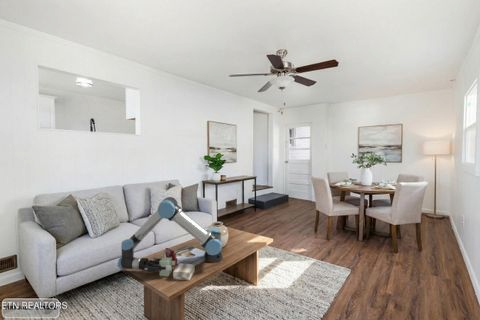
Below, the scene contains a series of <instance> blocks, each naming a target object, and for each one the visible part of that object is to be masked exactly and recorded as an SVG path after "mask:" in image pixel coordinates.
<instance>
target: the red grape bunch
mask: <svg viewBox="0 0 480 320" xmlns="http://www.w3.org/2000/svg"><path fill="white" fill-rule="evenodd" d="M164 250H165V251H164V252H165V257H168V258H172V261H175V265H176V264H177V263H178V262H177V261H179V260H178V258H177V255H176V253H175V250H173V249H171V248H168V247H166V248H165V249H164ZM176 262H177V263H176Z"/></svg>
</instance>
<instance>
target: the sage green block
mask: <svg viewBox="0 0 480 320" xmlns="http://www.w3.org/2000/svg"><path fill="white" fill-rule="evenodd" d="M160 259H161V260H160V261H159V263H160V265H159V266H162V265H167V266H171V270H161V271H159V276H160V277H169V276H170V275H171V273H173V265H172V258H168V257H166V256H164V257H162V258H160Z"/></svg>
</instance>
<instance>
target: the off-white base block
mask: <svg viewBox="0 0 480 320" xmlns="http://www.w3.org/2000/svg"><path fill="white" fill-rule="evenodd" d="M195 266H196V265H195V264H191V263H179V264H177V266H176V267H175V268H174V270H172V279H173V280H183V281H184V280H185V281H190V280H191V278H192V277H193V275H194V273H195Z"/></svg>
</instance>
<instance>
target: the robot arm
mask: <svg viewBox="0 0 480 320" xmlns="http://www.w3.org/2000/svg"><path fill="white" fill-rule="evenodd" d="M163 219H166V220H168V221H169V222H174V223H175V224H177V225H178V226H179V227H180V228H182V229H183V230H184V231H186V233H188V234H189V235H190V236H192V237H193V238H195V239H196V240H197V241H198V242H199V245H200V246H201V247H202V248H204V253H203V260H204V261H205V262H207V263H217V262H220V261H222V260H224V253H223V250H222V248H223V243H222V230H221V229H220V228H215V227H213V228H207V229H205V228H204V227H202V226H201V225H200V224H198V223H197V222H196V221H195V220H193V218H191V217H190V216H188V215H187V214H186V213H185V212H184V211H183V209H182V207H181V206H180V205H178V201H177V199H176V198H174V197H172V196H168V197H166V198H165V197H164V199H163V200H162V201H160V203H159V205H158V206H157V210H156V211H155V212H153V214H152V215H151V216H150V217H149V218H148V219H147V220H146V221H145V222H144V223H143V225H141V226H140V227H139V228H138V229H137V230H136V232H134V233H133V234H132V235H131V236H130V237H129V239H124V240H122V242H121V246H120V247H121V248H120V249H121V257H120V258H118V261H117V267H118V269H122V270H139V271H140V270H141V271H142V270H143V271H144V272H147V271H148V272H160V271H161V270H171V266H167V265H162V266H160V263H159V261H160V260H161V259H162V258H156V257H154V258H153V259H149V258H147V257H135V252H134V250H135V248H137V246H138V245H139V244H140V243H141V242H142V241H143V240H144V239H145V238H146V237H147V236H148V235H149V234H150V233H151V232H152V231H153V230H154V228H155V227H157V225H158V224H159V223H160V222H162V220H163ZM172 266H176V264H175V261H172Z"/></svg>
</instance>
